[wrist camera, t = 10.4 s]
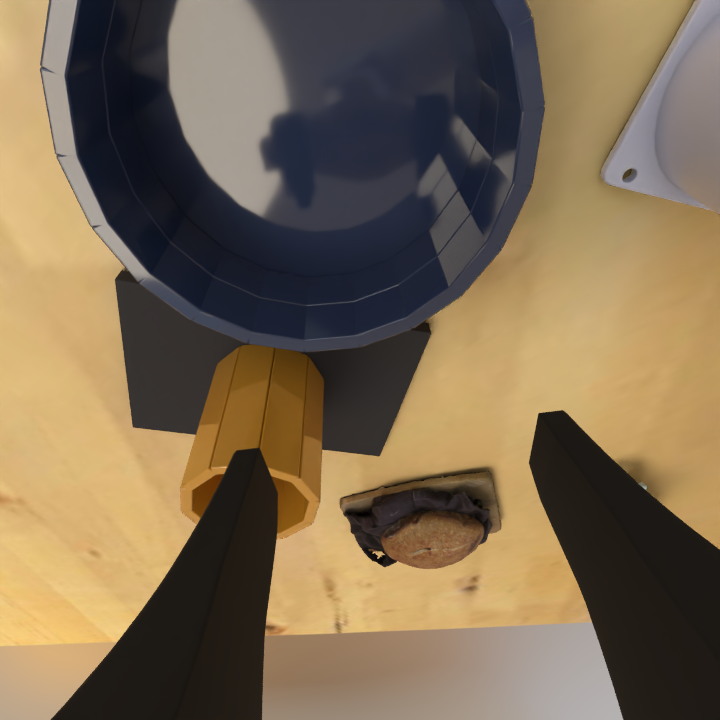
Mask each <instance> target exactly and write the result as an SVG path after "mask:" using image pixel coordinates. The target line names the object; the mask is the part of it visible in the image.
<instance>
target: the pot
mask: <svg viewBox="0 0 720 720" xmlns="http://www.w3.org/2000/svg"><path fill="white" fill-rule="evenodd" d="M40 65H41V68H40V72H41V78H42V83H43V89H44V94H45V100H46V105H47V111H48V117H49V122H50V128H51V133H52V139H53V144H54V150H55V154H56V155H57V159H58V161H59V163H60V165H61V167H62V169H63V171H64V173H65V175H66V177H67V179H68V182H69V184H70V186H71V188H72V190H73V192H74V194H75V196H76V198H77V200H78V202H79V204H80V206H81V208H82V210H83V212H84V214H85V216H86V218H87V220H88V222H89V224H90V226H91V227H92V229H93V230H94V231H95V233H96V234H97V235H98V236H99V237H100V238H101V240H102V241H103V242H104V243H105V244H106V245H107V247H108V248H109V249H110V250H111V251H112V252H113V254H114V255H115V256H116V257H117V258H118V259H119V261H120V262H121V263H122V264H123V265H124V266H125V268H126V269H127V270H128V271H129V272H130V273H131V275H132V276H133V277H134V278H135V279H136V280H137V281H138V282H139V283H140V284H141V285H142V286H144V287H145V288H146V289H148V290H149V291H151V292H152V293H153V294H155V295H156V296H158V297H159V298H160V299H162V300H163V301H164V302H166V303H167V304H169V305H170V306H171V307H173V308H174V309H176V310H177V311H178V312H180V313H181V314H183V315H184V316H185V317H187V318H188V319H190V320H193V321H194V322H196V323H198V324H201V325H203V326H205V327H208V328H210V329H213V330H215V331H218V332H220V333H223V334H225V335H227V336H230V337H232V338H235V339H237V340H240V341H242V342H245V343H249V344H252V345H259V346H265V347H272V348H278V349H285V350H291V351H298V352H304V351H305V352H316V351H327V350H339V349H350V348H358V347H363V346H366V345H369V344H371V343H374V342H377V341H380V340H383V339H386V338H389V337H391V336H394V335H397V334H400V333H403V332H406V331H409V330H411V329H412V328H415V327H416V326H418V325H419V324H421V323H422V322H424V321H425V320H427V319H428V318H430V317H431V316H433V315H434V314H436V313H437V312H439V311H440V310H442V309H443V308H445V307H446V306H448V305H449V304H451V303H452V302H454V301H455V300H457V299H458V298H459V297H460V296H462V295H463V294H464V293H465V292H466V290H467V289H468V288H469V287H470V286H471V285H472V283H473V282H474V281H475V280H476V279H477V278H478V277H479V275H480V274H481V273H482V272H483V271H484V270H485V268H486V267H487V266H488V265H489V264H490V263H491V262H492V260H493V259H494V258H495V257H496V256H497V255H498V254H499V252H500V251H501V250H502V249H501V248H503V246H504V244H505V242H506V240H507V238H508V236H509V234H510V231H511V229H512V227H513V225H514V223H515V221H516V219H517V217H518V215H519V212H520V210H521V208H522V206H523V204H524V202H525V200H526V198H527V196H528V193H529V191H530V189H531V186H532V183H533V178H534V172H535V166H536V159H537V153H538V147H539V141H540V135H541V128H542V122H543V116H544V110H545V108H544V105H545V101H544V93H543V86H542V79H541V71H540V64H539V57H538V49H537V42H536V35H535V27H534V20H533V17H532V16H531V10H530V8H529V6H528V4H527V2H526V0H49V6H48V13H47V20H46V27H45V34H44V41H43V48H42V55H41V62H40Z"/></svg>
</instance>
